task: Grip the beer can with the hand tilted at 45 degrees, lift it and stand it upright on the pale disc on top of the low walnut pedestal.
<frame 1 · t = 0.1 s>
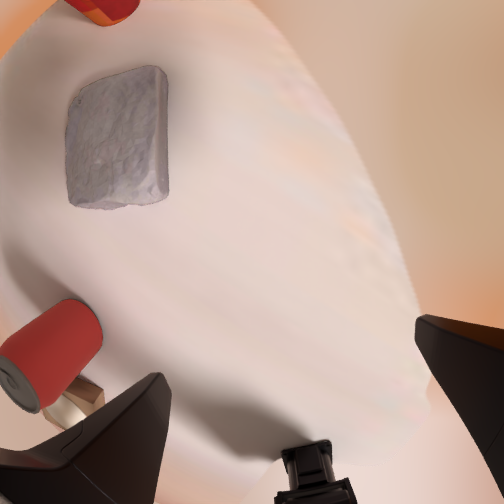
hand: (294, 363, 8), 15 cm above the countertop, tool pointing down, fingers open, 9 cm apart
beer can: (81, 324, 24), on the countertop
stone block: (120, 143, 21), on the countertop
walnut pedestal: (75, 400, 27), on the countertop
paper cup: (117, 9, 17), on the countertop
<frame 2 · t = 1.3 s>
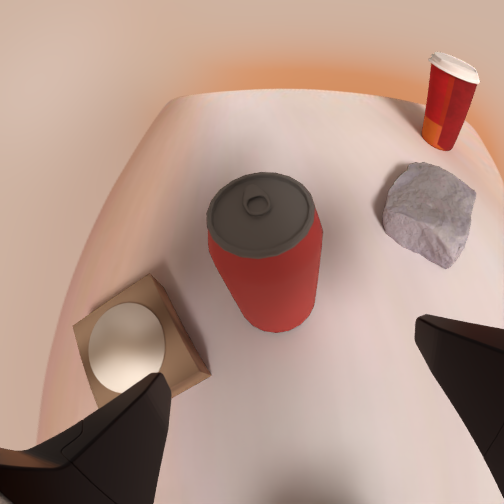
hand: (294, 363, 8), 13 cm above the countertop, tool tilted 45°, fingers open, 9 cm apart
beer can: (277, 299, 24), on the countertop
stone block: (424, 216, 26), on the countertop
walnut pedestal: (141, 354, 23), on the countertop
paper cup: (436, 140, 32), on the countertop
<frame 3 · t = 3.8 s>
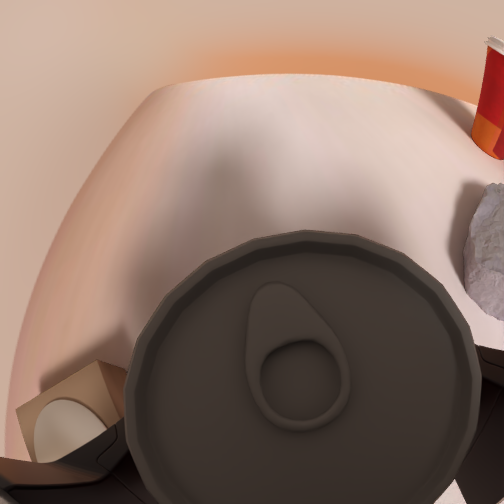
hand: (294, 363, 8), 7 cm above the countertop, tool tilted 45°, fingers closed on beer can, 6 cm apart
beer can: (299, 403, 13), on the countertop, touching gripper
stone block: (503, 261, 15), on the countertop
walnut pedestal: (103, 458, 12), on the countertop
paper cup: (487, 145, 22), on the countertop
when the fingers open (11 cm above the countertop, at t = 7.6 s): beer can stays where it is, resting on walnut pedestal.
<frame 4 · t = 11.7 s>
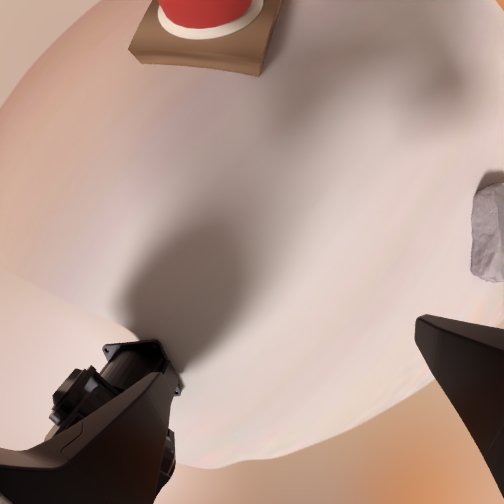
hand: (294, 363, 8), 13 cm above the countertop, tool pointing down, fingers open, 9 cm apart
beer can: (209, 4, 14), point 3 cm above the countertop, touching walnut pedestal
stone block: (498, 225, 21), on the countertop
walnut pedestal: (214, 21, 17), on the countertop
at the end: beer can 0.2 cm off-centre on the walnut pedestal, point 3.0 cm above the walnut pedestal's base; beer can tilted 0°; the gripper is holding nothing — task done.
